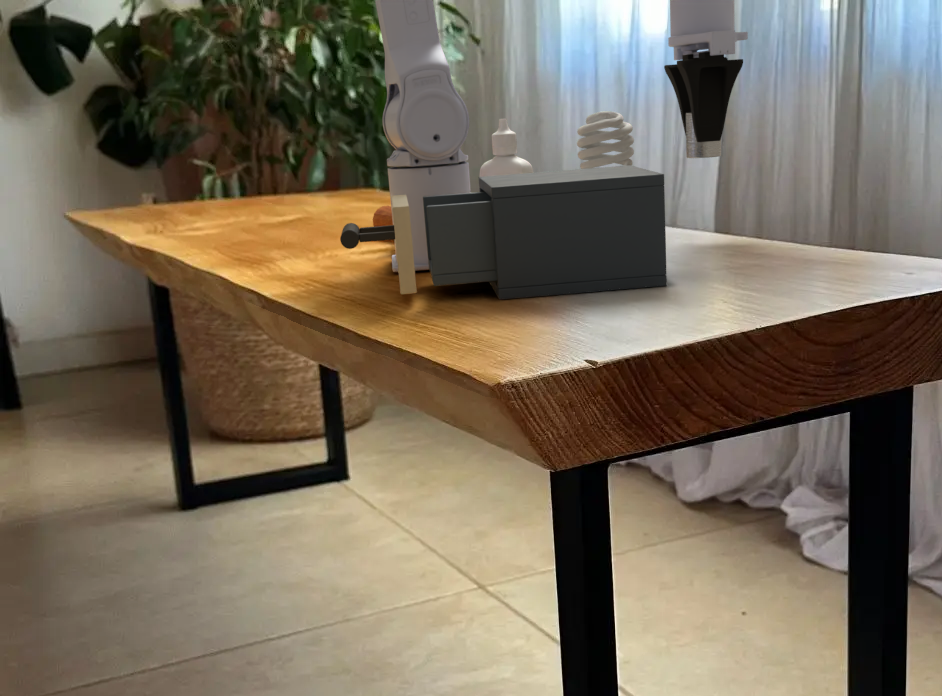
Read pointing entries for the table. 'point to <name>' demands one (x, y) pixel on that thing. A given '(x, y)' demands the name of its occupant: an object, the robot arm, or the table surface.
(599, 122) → the light bulb
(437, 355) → the table surface
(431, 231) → the drawer
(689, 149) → the cylinder
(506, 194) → the cabinet
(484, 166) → the eye dropper bottle
